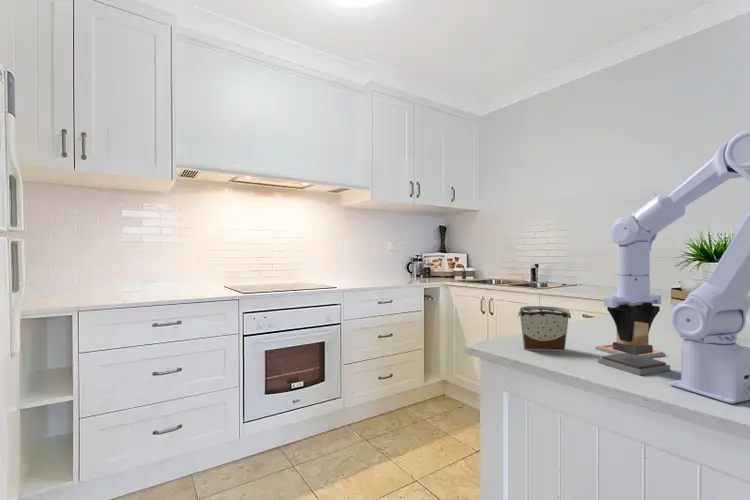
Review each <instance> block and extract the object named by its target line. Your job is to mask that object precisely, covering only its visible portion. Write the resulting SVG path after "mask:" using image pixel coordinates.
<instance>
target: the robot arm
mask: <svg viewBox="0 0 750 500" xmlns="http://www.w3.org/2000/svg"><path fill="white" fill-rule="evenodd" d="M738 178H740V179H741V178H744V179H745V180H746V181H748V182H749V183H750V128H748V129H744V130H743V131H742V130H741V132H739V133H737V134H736V135H734V136H733V137H732V138H731V139H730V140H729V142H726V143H724V144H723V145H720V146H719V148H717V150H716V152H715V154H714V155H713V156H712V158H711V159H710V160H708V161H707V162H705V164H704V165H702V166H701V167H700V168H699V169H698V170H697V171H695V172H694V173H693V174H691V175H690V176H689V177H688V178H687V179H686V180H684V181H683V182H682V183H681V184H680V185H679V186H677V187H676V188H675V189H674V190H672V191H671V192H670V193H669V192H662V193H658V194H653V195H652V196H651V197H649V198H648V199H649V201H647V203H645V204H644V205H643V206H641V208H639V209H637V210H634V211H633V212H632V213H631V215H629V216H628V217H626V216H625V217H624V216H623V217H622V216H620V217H618V218H617V219H616V220H615V221H614V222H613V223H612V224H611V226H610V229H609V235H610V238H611V240H612V242H613V243H614V244H616V294H615V293H614V294H612V295H611V296H604V297H603V306H604V308H605V307H606V308H607V309H606V310H607V311H608V313H609V314H610V316H611V317H612V320H613V322H614V325H615V327H616V332H617V331H618V334H619V338H620V340H623V341H627V342H631V341H632V337H633V327H634V322H635V321H636V322H642V323H648V335H649V333H650V330H651V326H652V325H653V322H654V320H655V318H656V317H657V315H658V313H659V312H660V310H661V309H660V306H659V305H661V304H662V294H654V293H652V294H651V293H650V292H651V285H650V283H651V280H650V279H651V276H650V274H651V273H650V272H651V271H650V268H651V267H650V265H651V264H650V262H651V261H650V258H651V257H650V253H651V251H652V244H653V243H654V241H655V240H656V238H657V235H658V234H659V233H660V232H661V231H662V230H664V229H666V228H667V227H669V226H670V225H672V224H673V223H674V222H676V221H677V220H679V219H681V218H682V217H684V215H685V213H686V207H687V206H689V205H690V204H691V203H693V202H695V201H696V200H698V199H699V198H701V197H702V196H704V195H706V194H707V193H710V192H712V191H713V190H714V189H716V188H717V187H720V186H721V185H722V184H724V183H726V182H727V181H729V180H731V179H738ZM749 293H750V211H749V212H748V214H747V215H746V217H745V218H744V220H743V222H742V223H741V224H740V226H739V228H738V230H737V231H736V233H735V235H734V236H733V238H732V239H731V241H730V243H729V244H728V245H727V248H726V249H725V251H724V252H723V254H722V255H721V257H720V259H719V261H718V262H717V264H716V266H715V267H714V268H713V270H712V272H711V273H710V275H709V277H708V279H706V282H705V283H704V284H701V285H700V286H699V287H697V288H696V289H693V290H692V291H691V292H690V293H688V295H687V297H686V298H685V299H684V300H683V301H681V302H680V303H678V304H676V305H675V306H674V307H673V308H672V310H671V314H670V321H671V324H672V326H673V328H674V329H675V331H676V332H677V333H678V334H679V336H678V337H679V338H680V339H681V340H680V341H681V342H680V350H681V351H680V352H681V353H680V355H681V356H680V357H681V358H680V362H681V363H680V369H681V370H680V377H681V378H680V379H677V380H672V381H669V382H668V383H669V385H670V386H674V387H677V388H680V389H683V390H686V391H690V392H693V393H696V394H699V395H702V396H706V397H709V398H712V399H716V400H717V401H722V402H724V403H728V404H731V405H732V404H737V403H742V402H746V401H750V347H747V346H743V345H741V344H739V343H737V342H736V341H737V337H738V336H737V335H738V334H739V333H741V332H742V331H743V330H745V329H744V328H745V326H746V323H747V314H748V311H749V310H750V301H749V299H748V297H747V296H748V295H749ZM654 304H655V305H654Z"/></svg>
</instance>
